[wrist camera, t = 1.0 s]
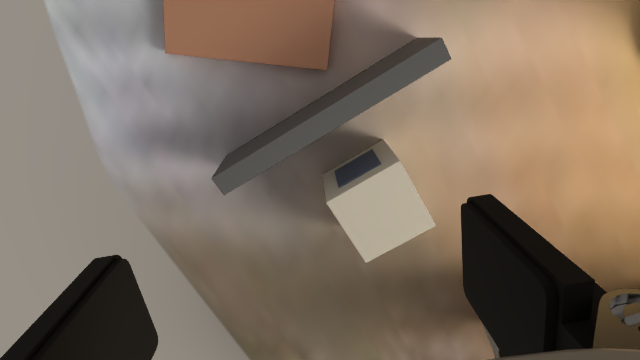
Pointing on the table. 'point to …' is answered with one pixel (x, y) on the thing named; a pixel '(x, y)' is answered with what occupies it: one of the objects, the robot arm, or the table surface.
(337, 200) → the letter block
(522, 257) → the robot arm
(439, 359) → the table surface
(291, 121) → the long grey slat
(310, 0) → the mat
